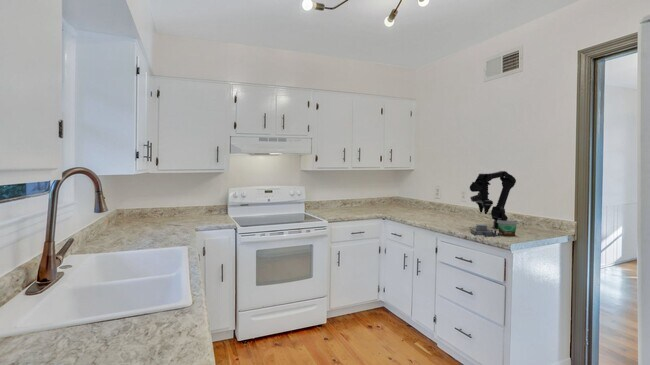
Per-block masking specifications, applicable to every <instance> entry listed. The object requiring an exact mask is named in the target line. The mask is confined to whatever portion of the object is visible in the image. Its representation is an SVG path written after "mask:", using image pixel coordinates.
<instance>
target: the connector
mask: <svg viewBox="0 0 650 365" xmlns="http://www.w3.org/2000/svg"><path fill="white" fill-rule="evenodd" d="M475 226H476V228H475V231H487V229H488V225H486V224H483V223H482V224H479V223H477V224H476V225H475Z"/></svg>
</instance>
